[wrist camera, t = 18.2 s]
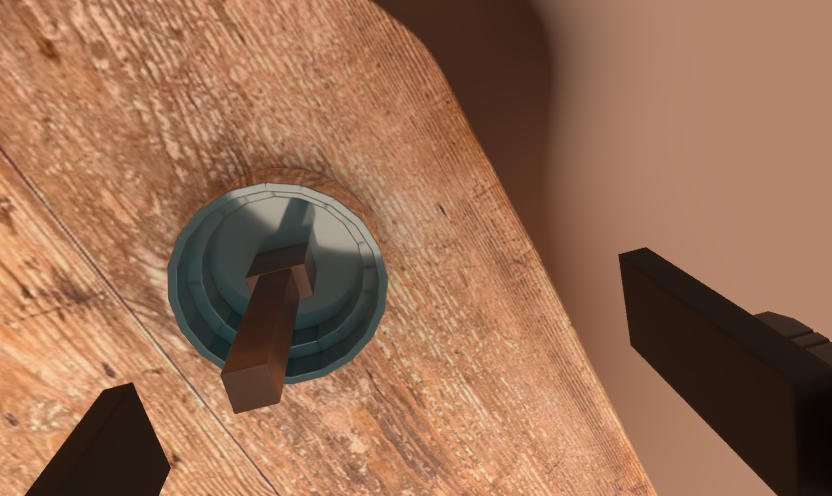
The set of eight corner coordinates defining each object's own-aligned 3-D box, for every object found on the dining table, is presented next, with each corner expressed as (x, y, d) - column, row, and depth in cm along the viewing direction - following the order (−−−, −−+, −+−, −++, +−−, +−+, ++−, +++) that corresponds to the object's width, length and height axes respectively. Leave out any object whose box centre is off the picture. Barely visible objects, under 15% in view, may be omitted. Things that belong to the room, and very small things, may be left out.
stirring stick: (308, 241, 44) (285, 356, 27) (317, 270, 45) (299, 400, 28) (255, 254, 44) (199, 377, 27) (265, 283, 45) (215, 421, 28)
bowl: (356, 146, 43) (358, 159, 38) (400, 320, 48) (407, 355, 42) (162, 192, 43) (134, 213, 37) (225, 363, 47) (208, 405, 42)
